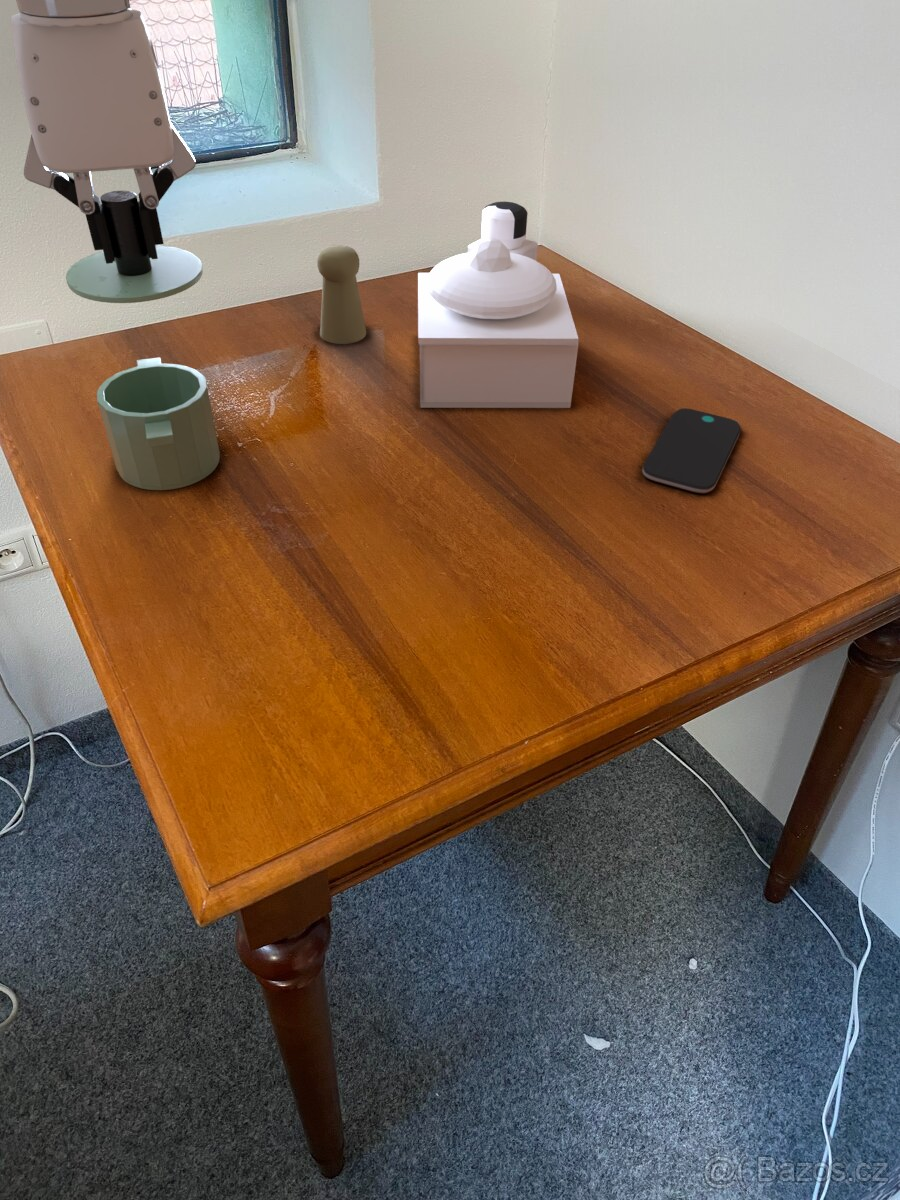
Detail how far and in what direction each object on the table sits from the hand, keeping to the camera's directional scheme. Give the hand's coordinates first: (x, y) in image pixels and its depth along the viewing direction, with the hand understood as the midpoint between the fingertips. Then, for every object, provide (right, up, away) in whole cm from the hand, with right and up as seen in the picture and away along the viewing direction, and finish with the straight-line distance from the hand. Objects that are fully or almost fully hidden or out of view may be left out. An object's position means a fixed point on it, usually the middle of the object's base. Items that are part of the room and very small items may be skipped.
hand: (131, 253), depth 74 cm
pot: (-3, -15, +18) cm, 23 cm away
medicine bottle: (+34, +14, +50) cm, 62 cm away
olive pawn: (+13, +5, +40) cm, 43 cm away
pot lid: (0, -1, +1) cm, 2 cm away
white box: (+32, -1, +34) cm, 46 cm away
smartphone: (+53, -13, +21) cm, 59 cm away
